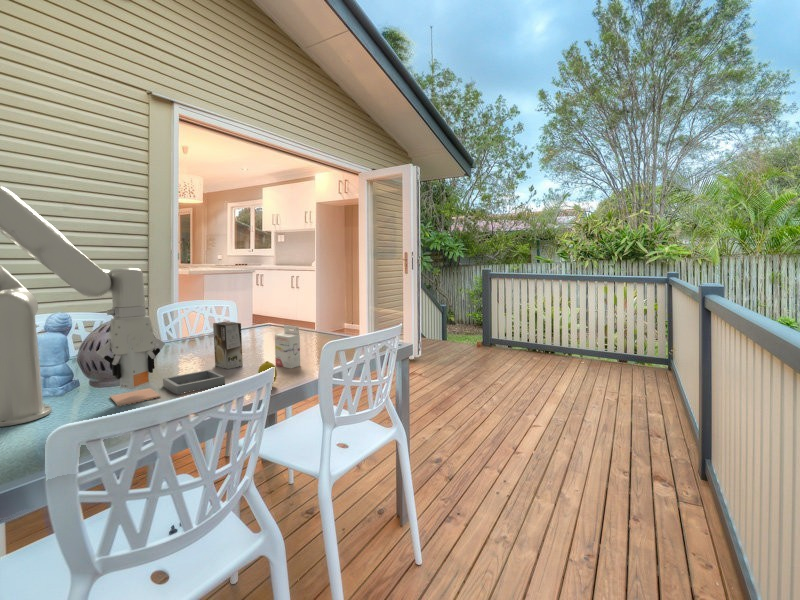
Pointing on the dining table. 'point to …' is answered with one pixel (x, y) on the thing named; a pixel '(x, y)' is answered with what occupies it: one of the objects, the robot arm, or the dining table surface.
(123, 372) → the skincare box
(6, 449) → the dining table surface
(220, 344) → the coffee box
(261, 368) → the lemon
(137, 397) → the tile
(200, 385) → the tray
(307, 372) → the dining table surface
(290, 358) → the ink cartridge box
